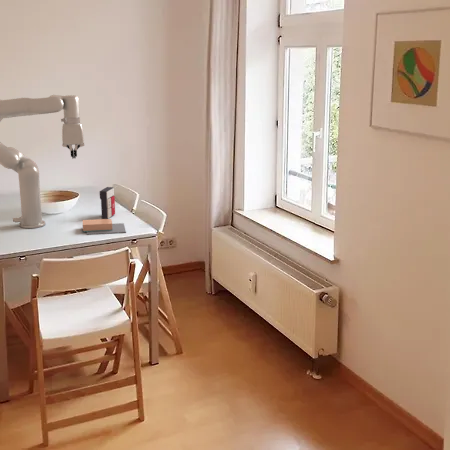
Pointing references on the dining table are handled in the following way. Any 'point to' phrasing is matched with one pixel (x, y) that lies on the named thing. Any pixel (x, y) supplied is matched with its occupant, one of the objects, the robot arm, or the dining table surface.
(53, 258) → the dining table surface
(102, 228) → the sponge
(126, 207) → the dining table surface
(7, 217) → the dining table surface
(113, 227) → the mat
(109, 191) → the grey red upright box
